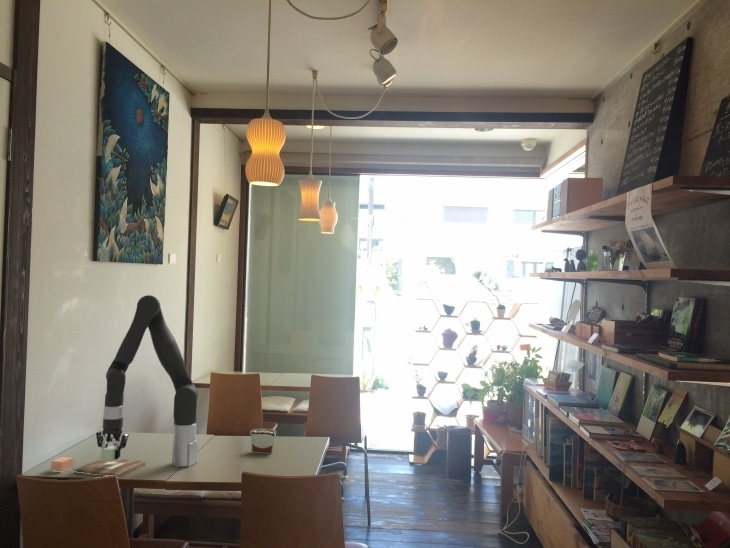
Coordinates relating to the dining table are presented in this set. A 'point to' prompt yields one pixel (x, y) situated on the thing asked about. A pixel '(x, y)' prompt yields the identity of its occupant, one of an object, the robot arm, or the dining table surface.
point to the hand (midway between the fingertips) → (110, 457)
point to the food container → (262, 440)
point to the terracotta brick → (62, 463)
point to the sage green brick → (108, 454)
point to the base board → (110, 467)
